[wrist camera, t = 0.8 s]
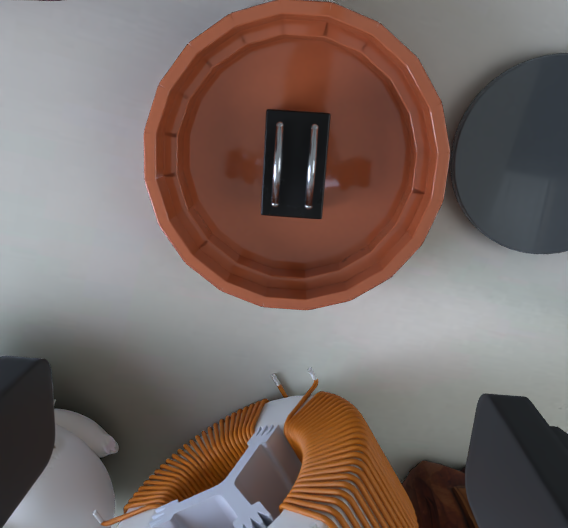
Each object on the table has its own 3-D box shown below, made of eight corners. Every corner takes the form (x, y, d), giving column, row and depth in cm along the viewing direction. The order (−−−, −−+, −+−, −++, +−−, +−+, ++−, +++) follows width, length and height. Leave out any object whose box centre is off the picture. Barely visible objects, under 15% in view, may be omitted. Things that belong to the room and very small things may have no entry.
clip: (269, 108, 27) (265, 108, 24) (328, 112, 27) (331, 113, 24) (264, 206, 29) (259, 217, 26) (320, 210, 29) (322, 221, 26)
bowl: (162, 5, 27) (142, -11, 23) (450, 22, 26) (471, 10, 23) (162, 278, 31) (144, 298, 27) (413, 296, 30) (426, 319, 27)
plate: (466, 48, 27) (470, 46, 26) (670, 61, 26) (681, 59, 26) (437, 244, 29) (440, 247, 29) (622, 257, 29) (631, 261, 28)
